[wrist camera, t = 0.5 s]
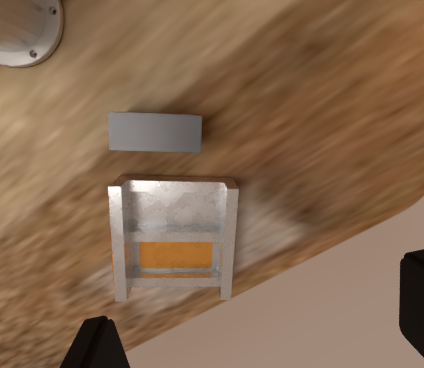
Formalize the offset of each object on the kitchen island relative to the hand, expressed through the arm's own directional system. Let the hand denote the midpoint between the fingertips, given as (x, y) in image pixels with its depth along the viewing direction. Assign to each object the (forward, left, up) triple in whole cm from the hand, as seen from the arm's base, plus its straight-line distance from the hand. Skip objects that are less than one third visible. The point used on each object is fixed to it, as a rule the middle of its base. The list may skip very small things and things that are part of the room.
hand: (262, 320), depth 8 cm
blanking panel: (-6, +4, -31) cm, 31 cm away
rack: (-4, -11, -30) cm, 33 cm away
